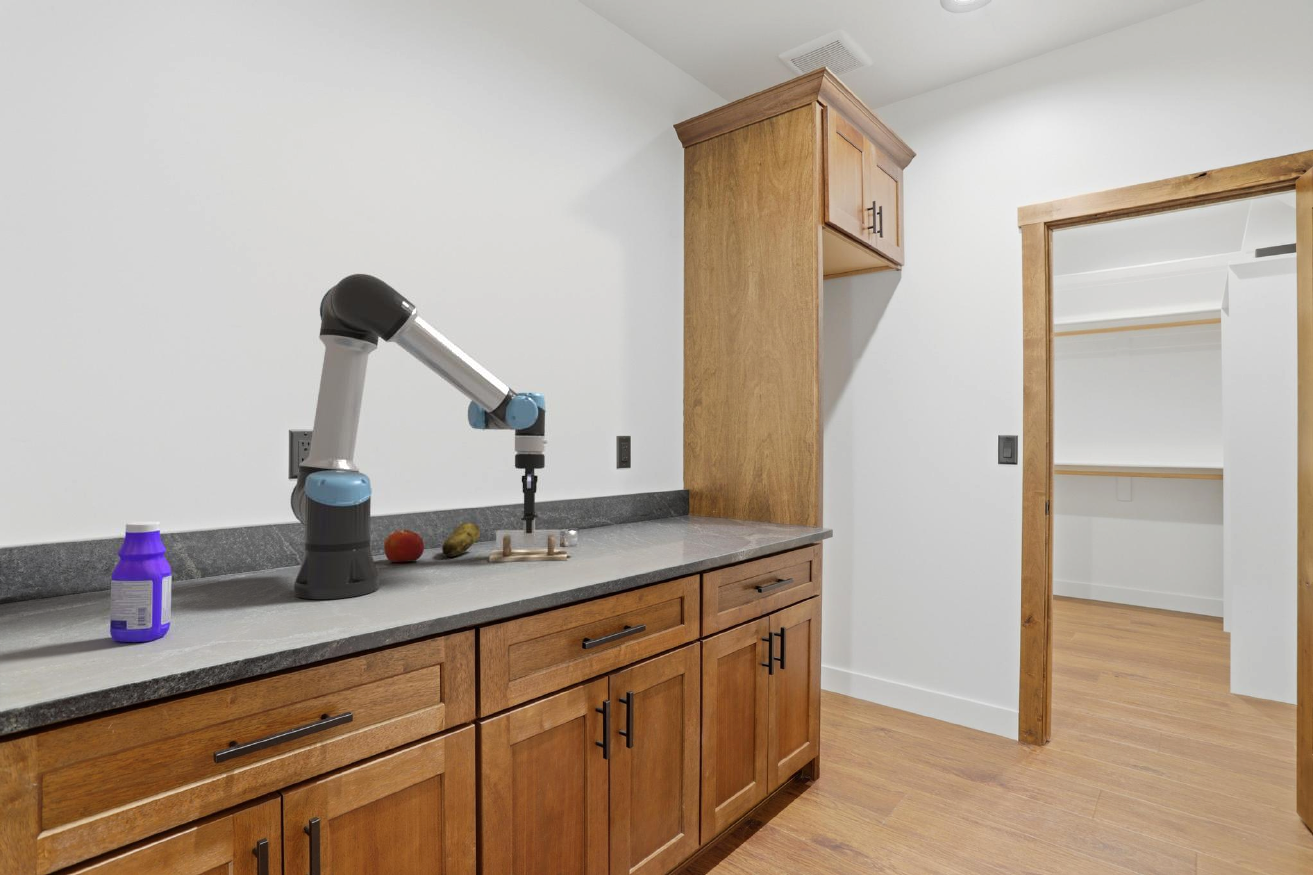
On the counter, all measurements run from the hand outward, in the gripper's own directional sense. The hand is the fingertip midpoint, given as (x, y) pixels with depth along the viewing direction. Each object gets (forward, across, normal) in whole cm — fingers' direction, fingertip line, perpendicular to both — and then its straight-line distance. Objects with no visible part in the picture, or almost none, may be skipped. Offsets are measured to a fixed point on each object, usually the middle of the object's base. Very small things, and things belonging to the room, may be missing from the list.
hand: (529, 544), depth 170 cm
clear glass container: (0, 0, -2) cm, 2 cm away
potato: (+3, +6, +18) cm, 19 cm away
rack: (+3, 0, 0) cm, 3 cm away
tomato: (+3, -3, +30) cm, 30 cm away
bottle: (+3, -63, +55) cm, 84 cm away
